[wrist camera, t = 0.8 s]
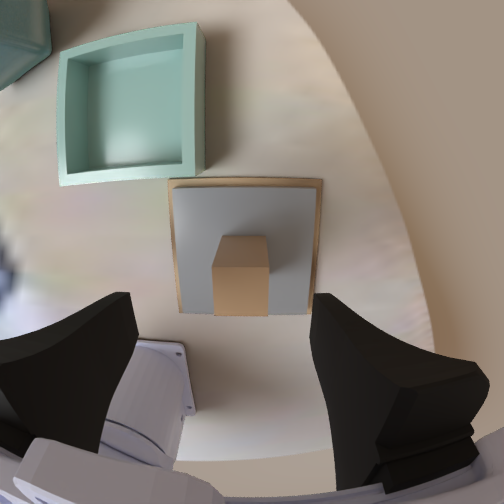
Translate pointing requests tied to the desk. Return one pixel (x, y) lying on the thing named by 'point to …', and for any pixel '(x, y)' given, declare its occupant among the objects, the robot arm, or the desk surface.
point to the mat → (248, 182)
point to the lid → (244, 248)
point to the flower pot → (22, 37)
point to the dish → (132, 106)
